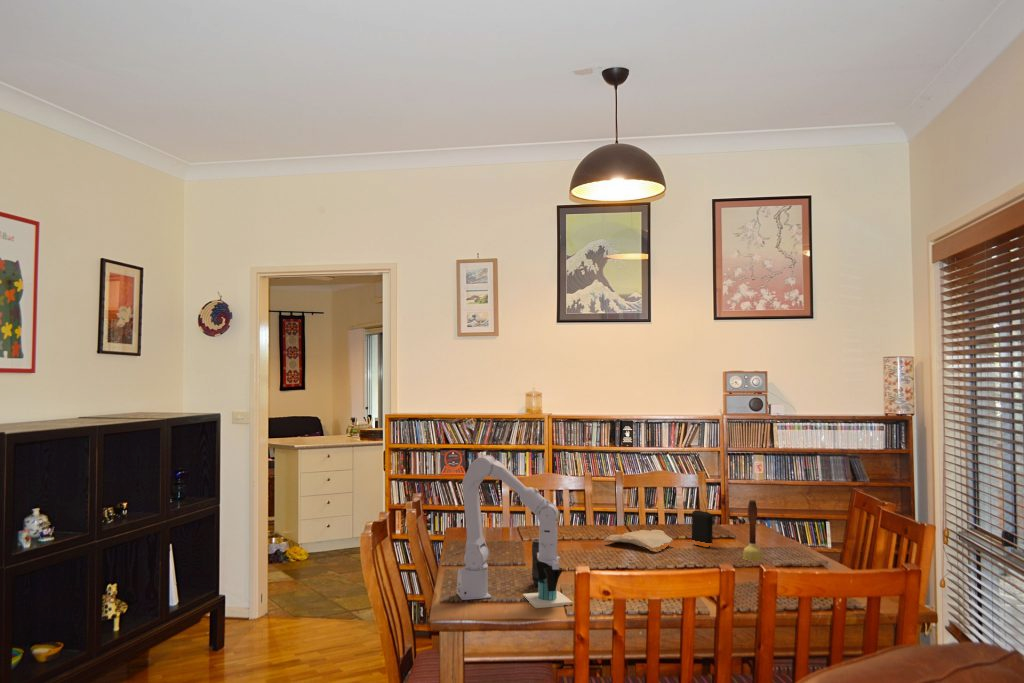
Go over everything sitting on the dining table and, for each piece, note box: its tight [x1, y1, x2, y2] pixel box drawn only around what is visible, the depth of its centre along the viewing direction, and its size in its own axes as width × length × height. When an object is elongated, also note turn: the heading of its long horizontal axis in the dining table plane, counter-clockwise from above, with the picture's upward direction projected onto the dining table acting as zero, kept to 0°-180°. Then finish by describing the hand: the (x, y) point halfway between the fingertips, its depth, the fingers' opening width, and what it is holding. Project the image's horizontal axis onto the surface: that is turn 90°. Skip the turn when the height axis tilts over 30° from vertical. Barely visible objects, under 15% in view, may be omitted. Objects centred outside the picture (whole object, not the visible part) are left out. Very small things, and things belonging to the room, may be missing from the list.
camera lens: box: [531, 538, 539, 588], centre depth 250 cm, size 8×8×15 cm
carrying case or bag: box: [691, 509, 715, 544], centre depth 312 cm, size 11×3×15 cm, turn 41°
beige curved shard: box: [603, 529, 674, 548], centre depth 311 cm, size 24×8×20 cm
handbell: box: [742, 499, 763, 561], centre depth 277 cm, size 12×12×25 cm
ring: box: [537, 579, 558, 600], centre depth 232 cm, size 6×6×5 cm
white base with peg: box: [522, 578, 574, 609], centre depth 232 cm, size 12×12×7 cm
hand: (547, 587), depth 232 cm, fingers open, 7 cm apart
